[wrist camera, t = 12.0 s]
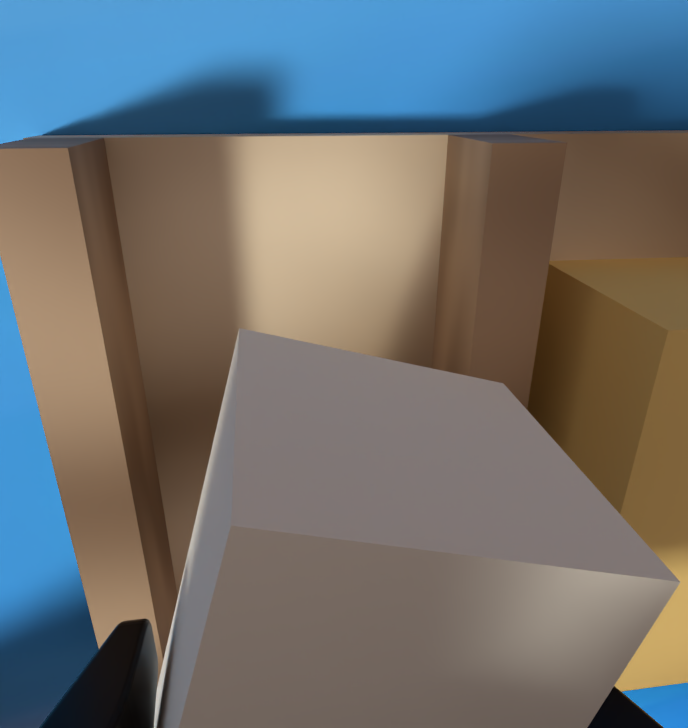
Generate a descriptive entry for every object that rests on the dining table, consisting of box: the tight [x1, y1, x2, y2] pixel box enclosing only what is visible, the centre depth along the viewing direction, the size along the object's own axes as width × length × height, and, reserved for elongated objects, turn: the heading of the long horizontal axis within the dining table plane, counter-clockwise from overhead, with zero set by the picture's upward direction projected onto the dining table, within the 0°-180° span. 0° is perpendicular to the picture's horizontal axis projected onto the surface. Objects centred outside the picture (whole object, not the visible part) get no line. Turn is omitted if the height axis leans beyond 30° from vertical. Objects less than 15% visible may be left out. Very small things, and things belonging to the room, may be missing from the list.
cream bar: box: [154, 328, 680, 728], centre depth 8 cm, size 8×4×4 cm, turn 164°
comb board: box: [0, 130, 688, 686], centre depth 13 cm, size 13×16×3 cm
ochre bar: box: [527, 257, 688, 691], centre depth 12 cm, size 8×4×4 cm, turn 179°
